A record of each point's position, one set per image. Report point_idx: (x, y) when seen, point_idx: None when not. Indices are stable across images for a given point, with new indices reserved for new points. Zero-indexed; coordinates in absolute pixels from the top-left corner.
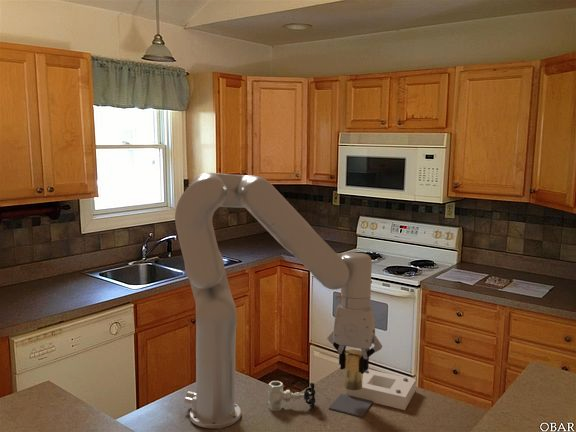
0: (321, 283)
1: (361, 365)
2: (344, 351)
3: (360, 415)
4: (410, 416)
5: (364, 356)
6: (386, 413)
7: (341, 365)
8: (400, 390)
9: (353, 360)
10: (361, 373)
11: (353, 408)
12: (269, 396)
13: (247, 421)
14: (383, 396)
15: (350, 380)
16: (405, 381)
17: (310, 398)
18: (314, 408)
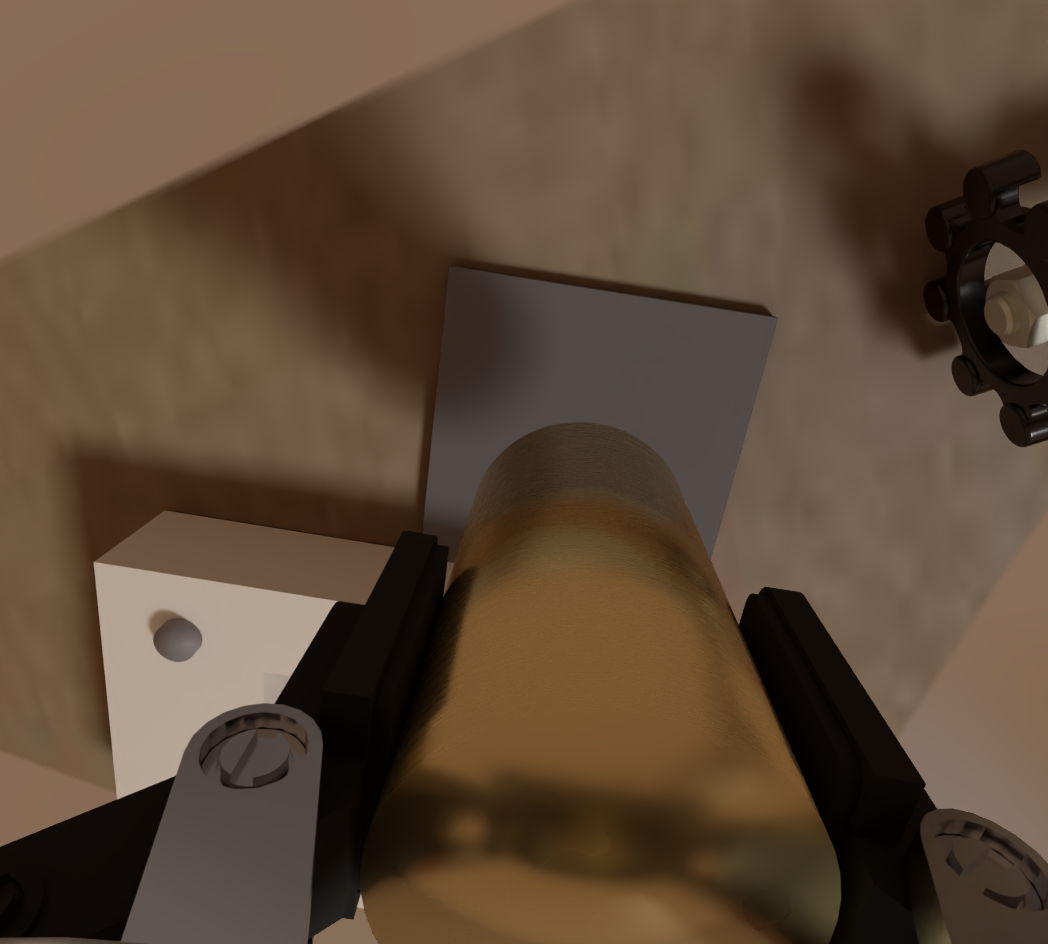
0: None
1: (402, 605)
2: (853, 925)
3: (467, 270)
4: (97, 427)
5: (274, 763)
6: (279, 412)
7: (802, 624)
8: (172, 667)
9: (567, 640)
10: (432, 538)
11: (552, 378)
12: None
13: None
14: (312, 573)
15: (599, 461)
16: None
17: (1025, 267)
18: (928, 213)
